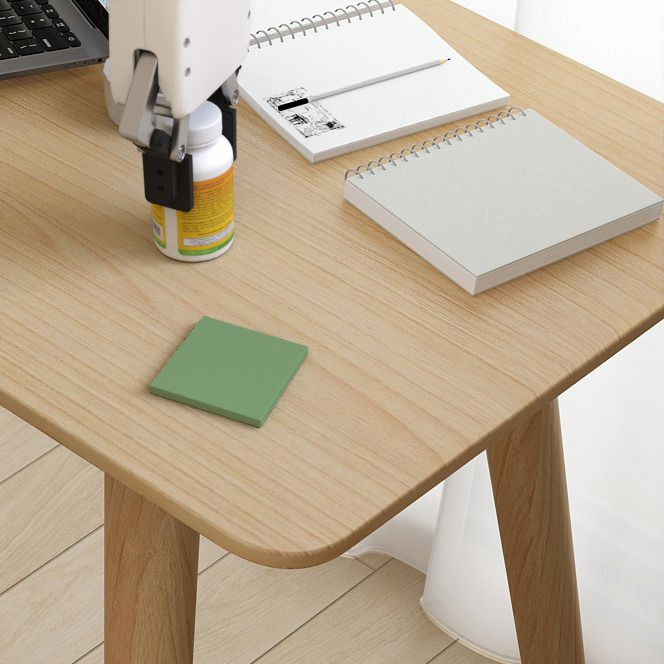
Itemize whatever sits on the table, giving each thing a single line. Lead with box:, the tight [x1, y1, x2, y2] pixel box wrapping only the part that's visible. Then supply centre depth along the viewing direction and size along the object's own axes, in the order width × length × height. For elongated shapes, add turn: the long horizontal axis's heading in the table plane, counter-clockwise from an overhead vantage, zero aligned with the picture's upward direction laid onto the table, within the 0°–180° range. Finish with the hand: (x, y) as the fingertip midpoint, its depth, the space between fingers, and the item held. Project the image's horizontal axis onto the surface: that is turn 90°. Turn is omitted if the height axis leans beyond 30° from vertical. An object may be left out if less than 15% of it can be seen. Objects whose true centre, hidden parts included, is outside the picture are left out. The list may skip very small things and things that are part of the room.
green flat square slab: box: [148, 315, 309, 428], centre depth 70 cm, size 7×7×1 cm
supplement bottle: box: [150, 100, 235, 263], centre depth 77 cm, size 5×5×10 cm
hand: (192, 178), depth 77 cm, fingers closed on supplement bottle, 5 cm apart
